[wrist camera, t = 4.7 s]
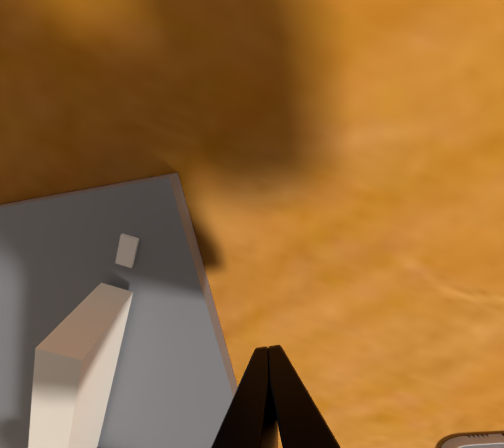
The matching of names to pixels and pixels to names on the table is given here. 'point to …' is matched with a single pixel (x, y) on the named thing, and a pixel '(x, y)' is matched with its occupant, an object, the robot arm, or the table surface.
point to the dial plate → (139, 316)
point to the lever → (78, 371)
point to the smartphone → (476, 441)
